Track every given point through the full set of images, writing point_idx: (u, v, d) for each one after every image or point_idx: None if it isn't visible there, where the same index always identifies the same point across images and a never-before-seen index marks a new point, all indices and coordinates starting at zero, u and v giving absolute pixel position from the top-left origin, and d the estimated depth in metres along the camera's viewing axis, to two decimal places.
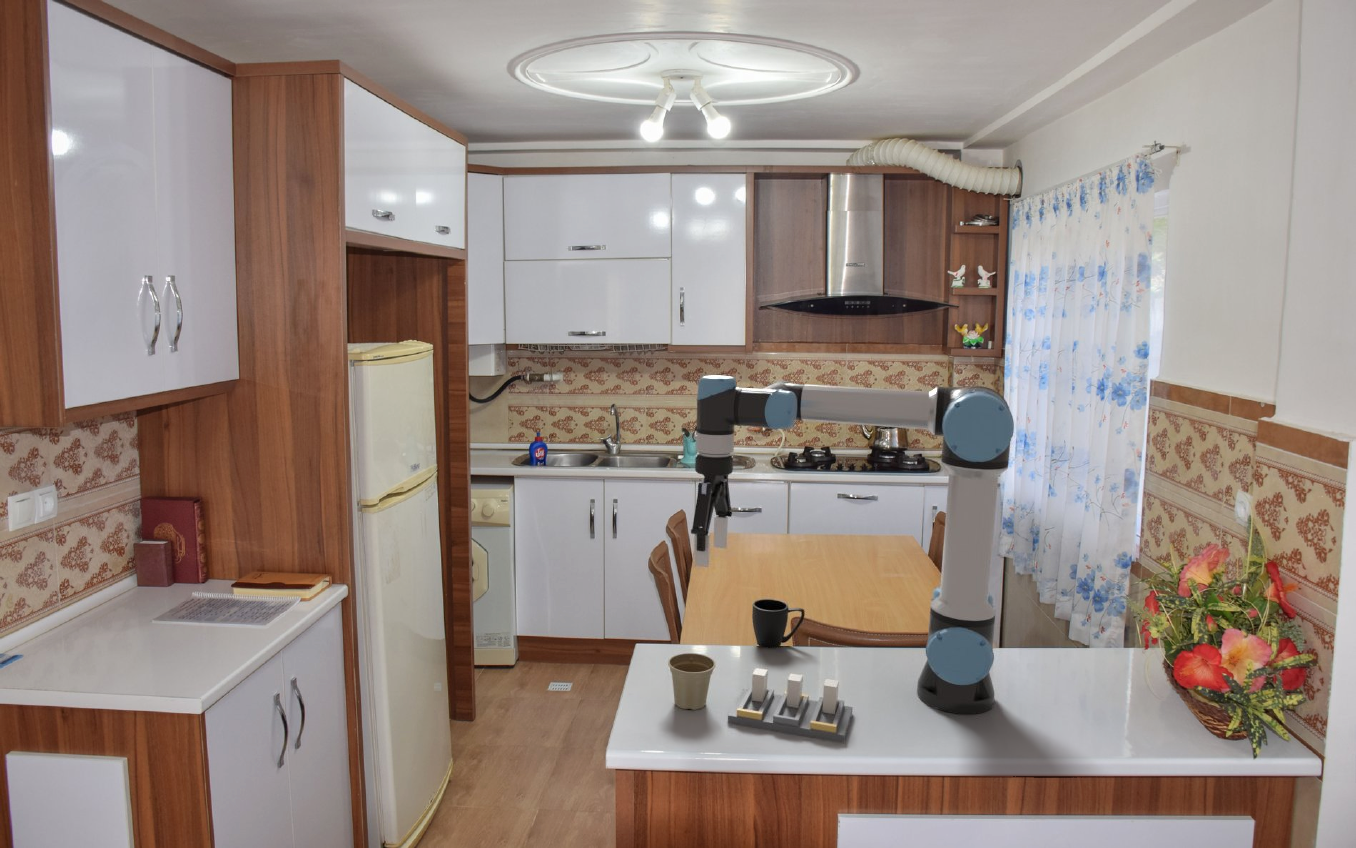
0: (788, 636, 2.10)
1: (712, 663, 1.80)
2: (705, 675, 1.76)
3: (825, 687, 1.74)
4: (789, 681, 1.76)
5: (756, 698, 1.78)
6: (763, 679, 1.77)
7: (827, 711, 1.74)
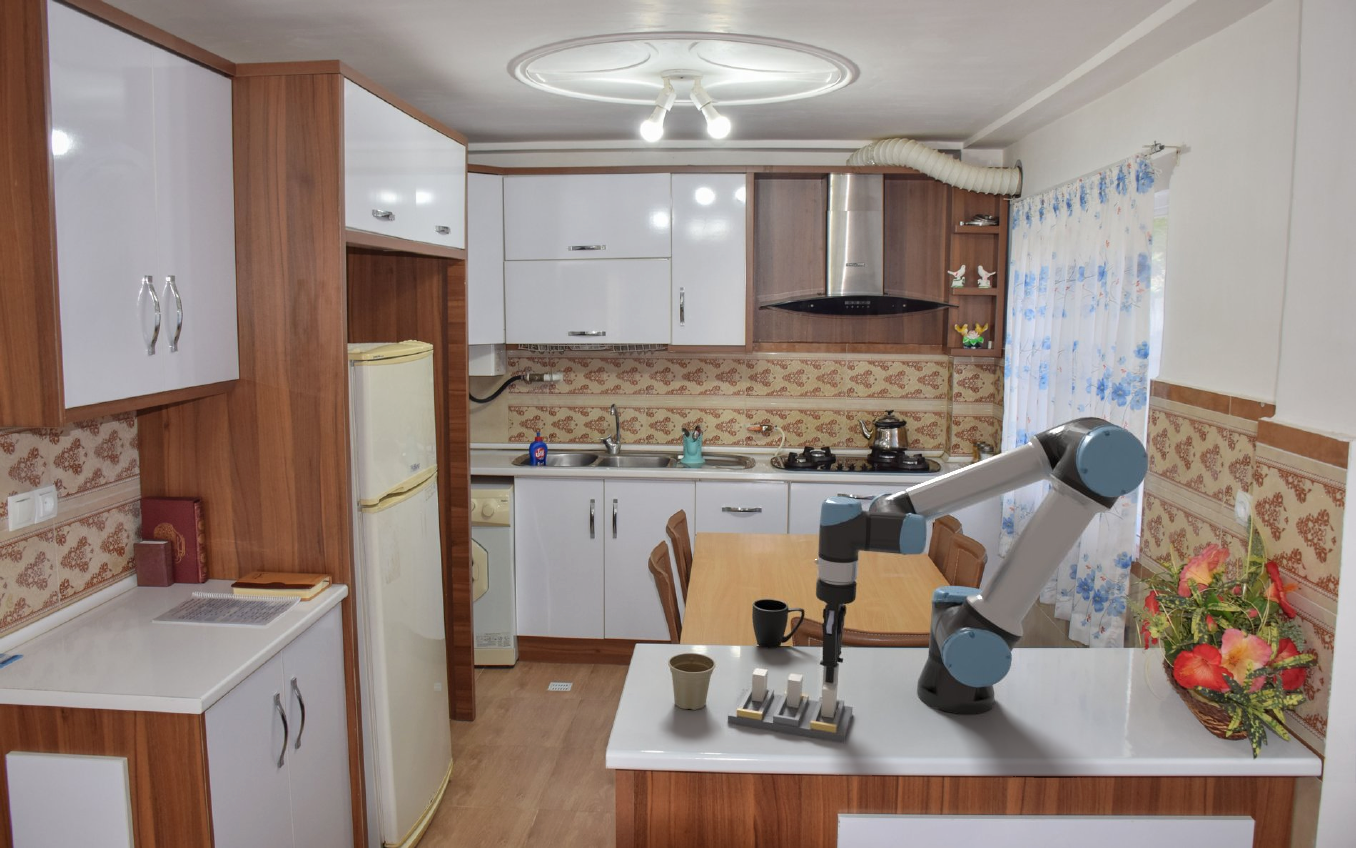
0: (788, 636, 2.10)
1: (712, 663, 1.80)
2: (705, 675, 1.76)
3: (824, 691, 1.72)
4: (789, 681, 1.76)
5: (756, 698, 1.78)
6: (763, 679, 1.77)
7: (826, 715, 1.73)
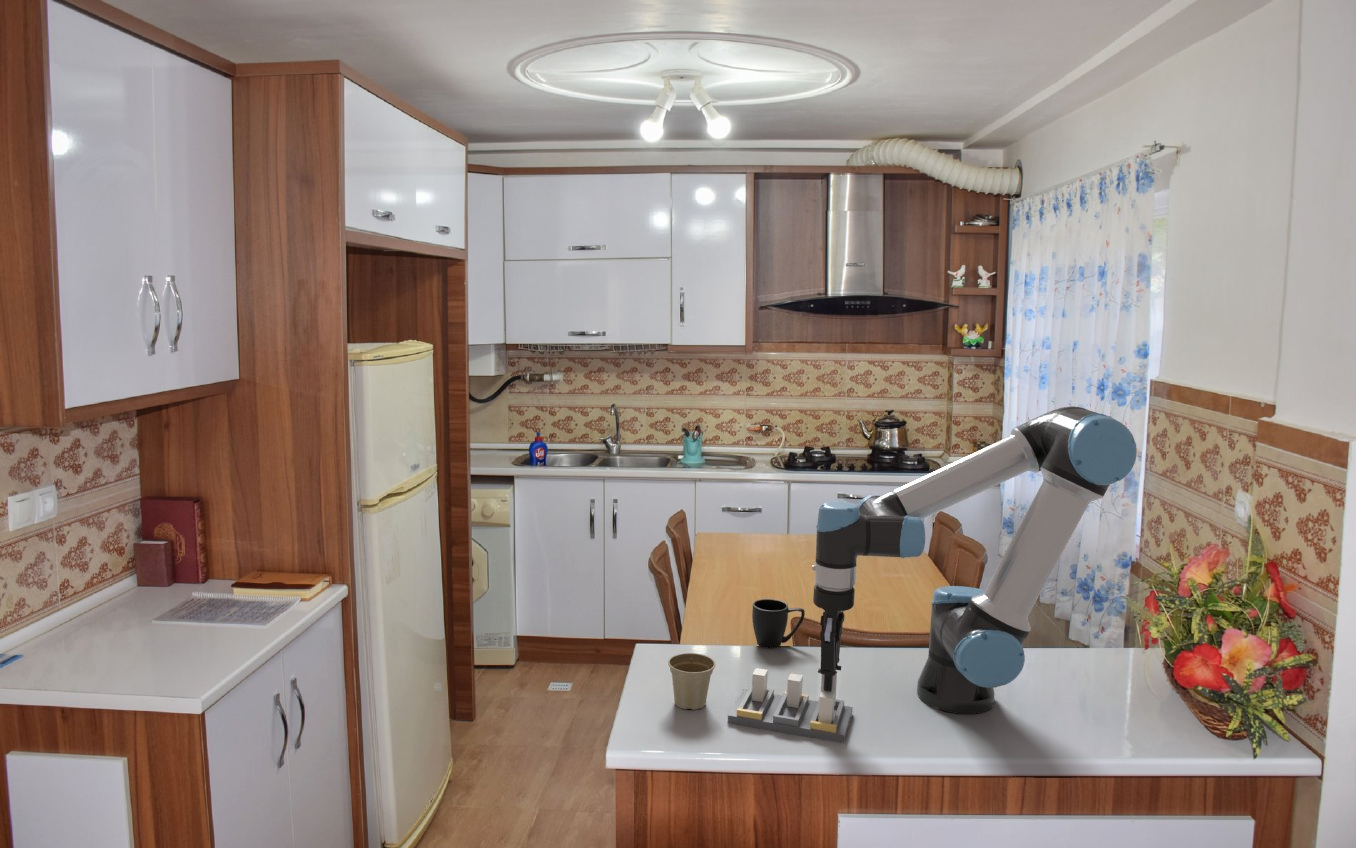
0: (788, 636, 2.10)
1: (712, 663, 1.80)
2: (705, 675, 1.76)
3: (821, 698, 1.69)
4: (789, 681, 1.76)
5: (756, 698, 1.78)
6: (763, 679, 1.77)
7: None
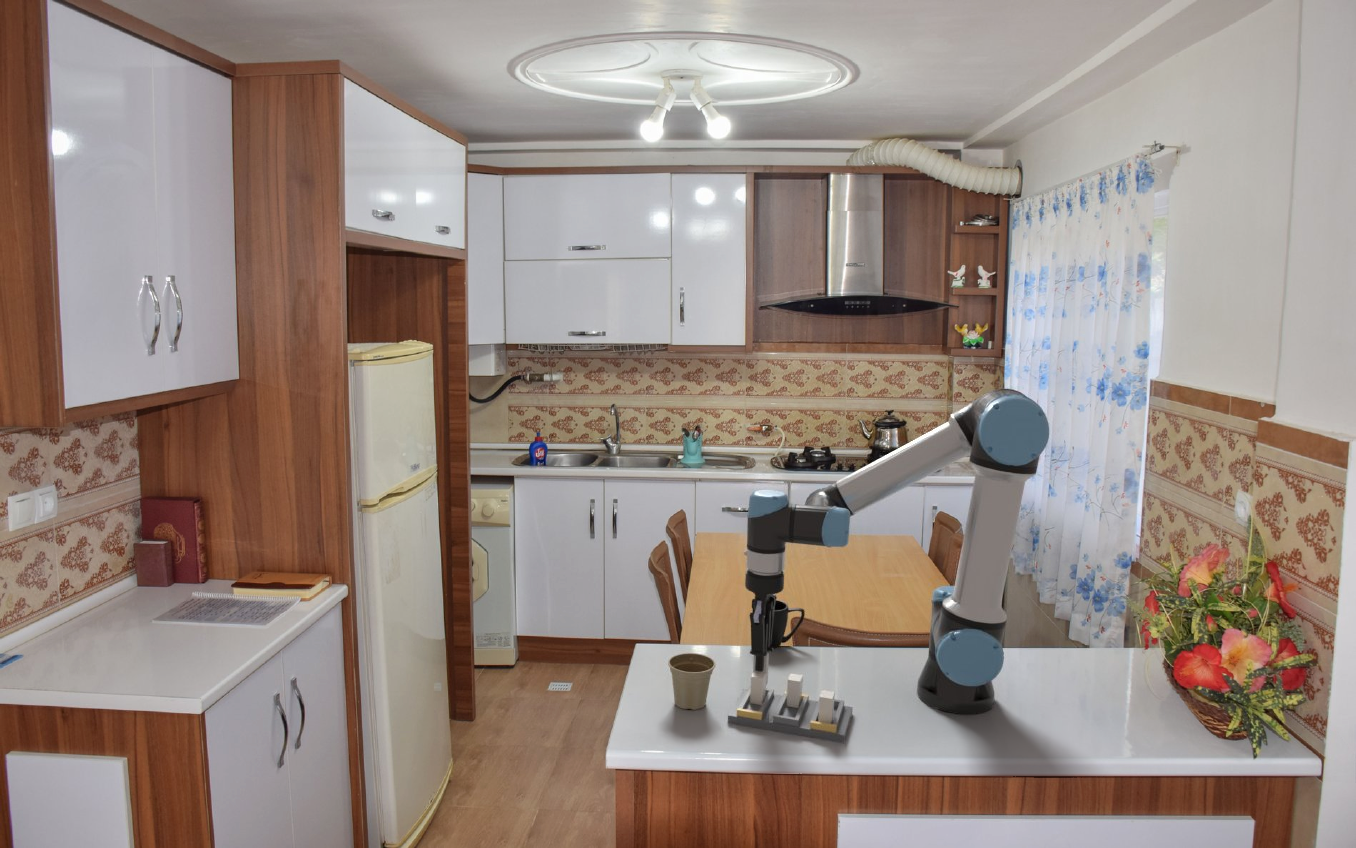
0: (788, 636, 2.10)
1: (712, 663, 1.80)
2: (705, 675, 1.76)
3: (821, 699, 1.69)
4: (789, 681, 1.76)
5: (755, 701, 1.77)
6: (762, 682, 1.76)
7: None
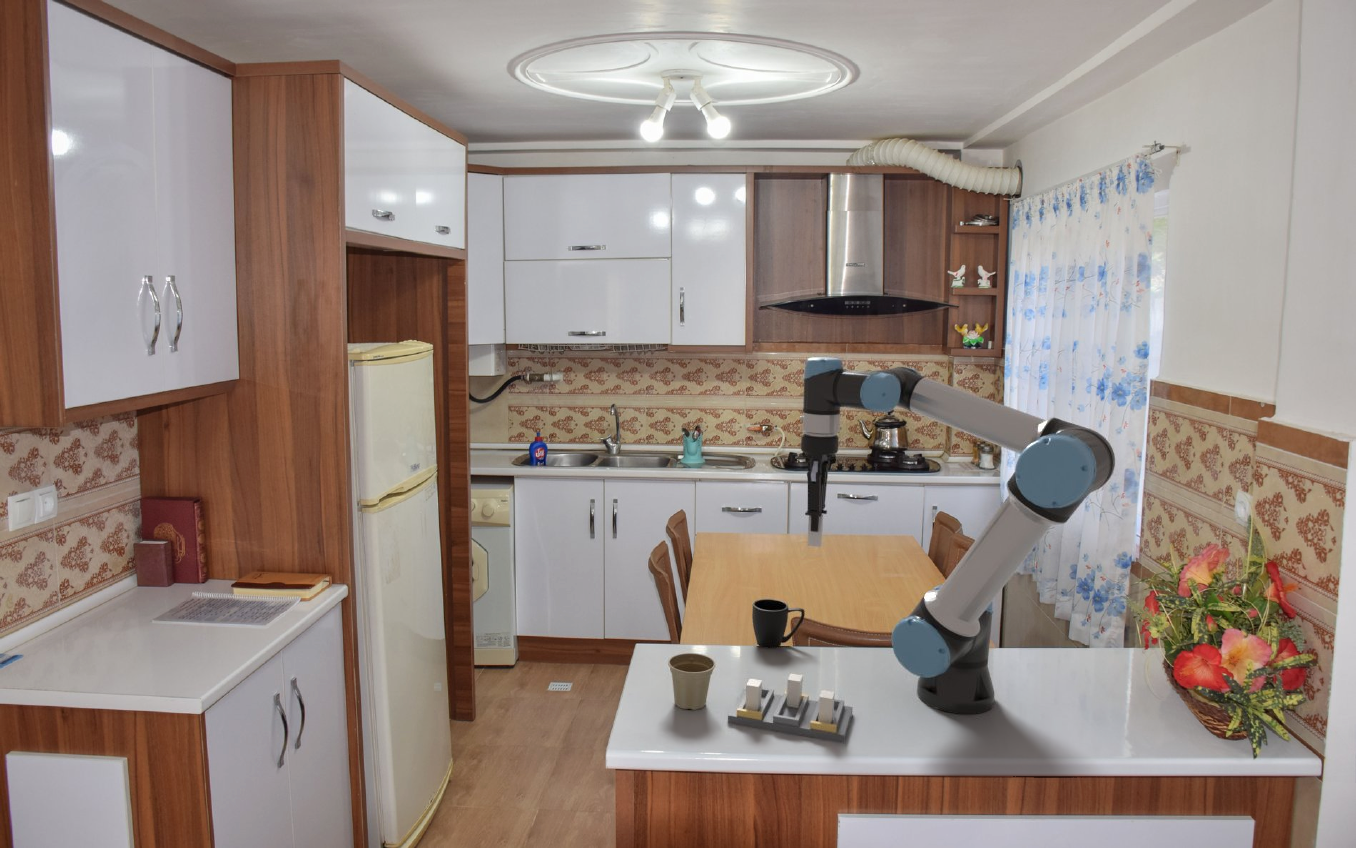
0: (788, 636, 2.10)
1: (712, 663, 1.80)
2: (705, 675, 1.76)
3: (821, 699, 1.69)
4: (789, 681, 1.76)
5: None
6: (757, 690, 1.73)
7: None
